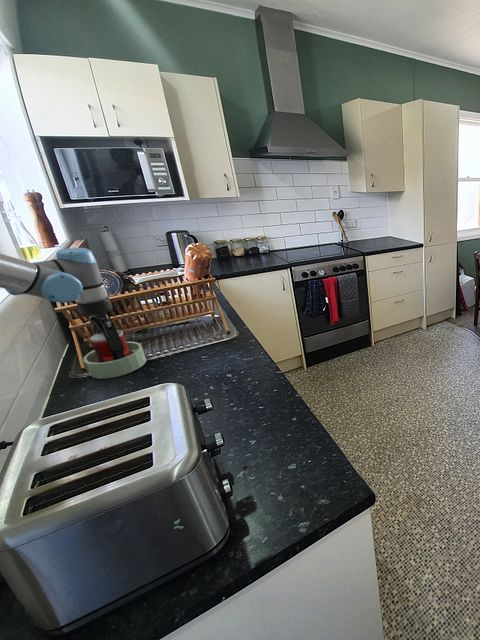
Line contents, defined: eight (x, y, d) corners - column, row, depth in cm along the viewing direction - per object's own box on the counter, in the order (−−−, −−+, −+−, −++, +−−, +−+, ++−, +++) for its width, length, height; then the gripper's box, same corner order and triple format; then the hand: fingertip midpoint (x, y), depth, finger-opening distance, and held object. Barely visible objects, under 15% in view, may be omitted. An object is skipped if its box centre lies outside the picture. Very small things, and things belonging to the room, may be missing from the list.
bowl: (101, 385, 107) (93, 369, 104) (83, 370, 113) (76, 354, 111) (155, 364, 118) (149, 349, 115) (135, 352, 125) (130, 337, 122)
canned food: (138, 359, 118) (128, 330, 114) (117, 371, 111) (105, 341, 107) (118, 357, 119) (107, 328, 114) (95, 369, 112) (82, 339, 107)
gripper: (122, 303, 104) (144, 368, 113) (95, 289, 113) (118, 350, 123) (89, 311, 98) (116, 378, 107) (64, 295, 107) (90, 359, 117)
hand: (117, 363), depth 115 cm, fingers closed on canned food, 8 cm apart
